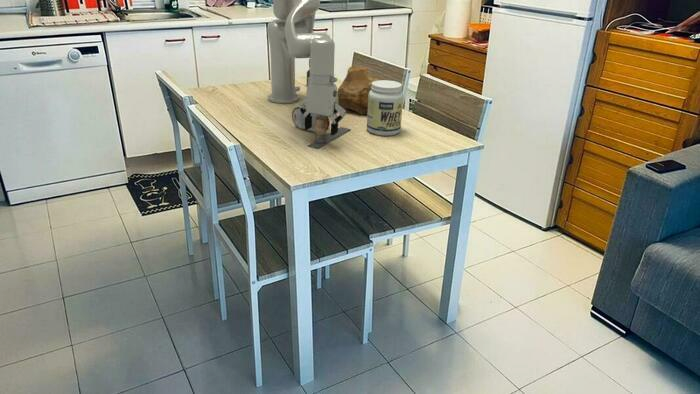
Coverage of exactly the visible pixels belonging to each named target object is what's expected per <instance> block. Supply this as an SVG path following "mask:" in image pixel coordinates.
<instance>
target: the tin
mask: <svg viewBox="0 0 700 394" xmlns="http://www.w3.org/2000/svg"><path fill="white" fill-rule="evenodd" d="M304 107H305V108H306V106H305V104H304ZM310 116H312V127H311V128H309V129H307V130H306V129H305V118H304V117H303V114H302V113H301V111H300V108H299V106H296V107H294V108H293V110H292V111H291V119H292V123H293V124H294V125H295V126H296V128H298V129H299V130H303V131H307V132H309V133H313V134H315V118H316V117H325V118H326V132H327V131H328V130H329V128H330V126H331V122H330V118H329V117H326V116H321V115H316V114H311V115H310Z"/></svg>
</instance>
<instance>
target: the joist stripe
mask: <svg viewBox="0 0 700 394" xmlns="http://www.w3.org/2000/svg"><path fill="white" fill-rule="evenodd" d="M351 130H352V129H351V128H347V127H343V126H342V127H341V126H340V127H338V132H337V133H336V134H335V135H331V132H329V133H326V143H324V144H318V143H316V142H315V141H313V142H311V143H309V144H308V145H307V147H309V148H311V149H317V150H319V149H321V148H322V147H324V146H325V145H328V144H329V143H331V142H333V141H335V140H336V139H337V138H339V137H342V136H344V135H345V134H347V133H348V132H350V131H351Z"/></svg>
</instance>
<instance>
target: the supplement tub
mask: <svg viewBox="0 0 700 394" xmlns="http://www.w3.org/2000/svg"><path fill="white" fill-rule="evenodd" d="M402 87H403V86H402V83H401V82H398V81H395V80H387V79H386V80H385V79H384V80H383V79H382V80H379V81H374V82H372V86H371V89H372V90H371V91H370V92H369V95H368V113H367V114H366V116H367V117H366V130H367V131H368V132H369V133H371V134H373V135H376V136H384V137H386V136H387V137H388V136H394V135H397V134H399V132H401V130H402V118H403V117H402V114H403V107H404V106H403V104H404V94H403V92H402V90H403V88H402Z"/></svg>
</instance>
